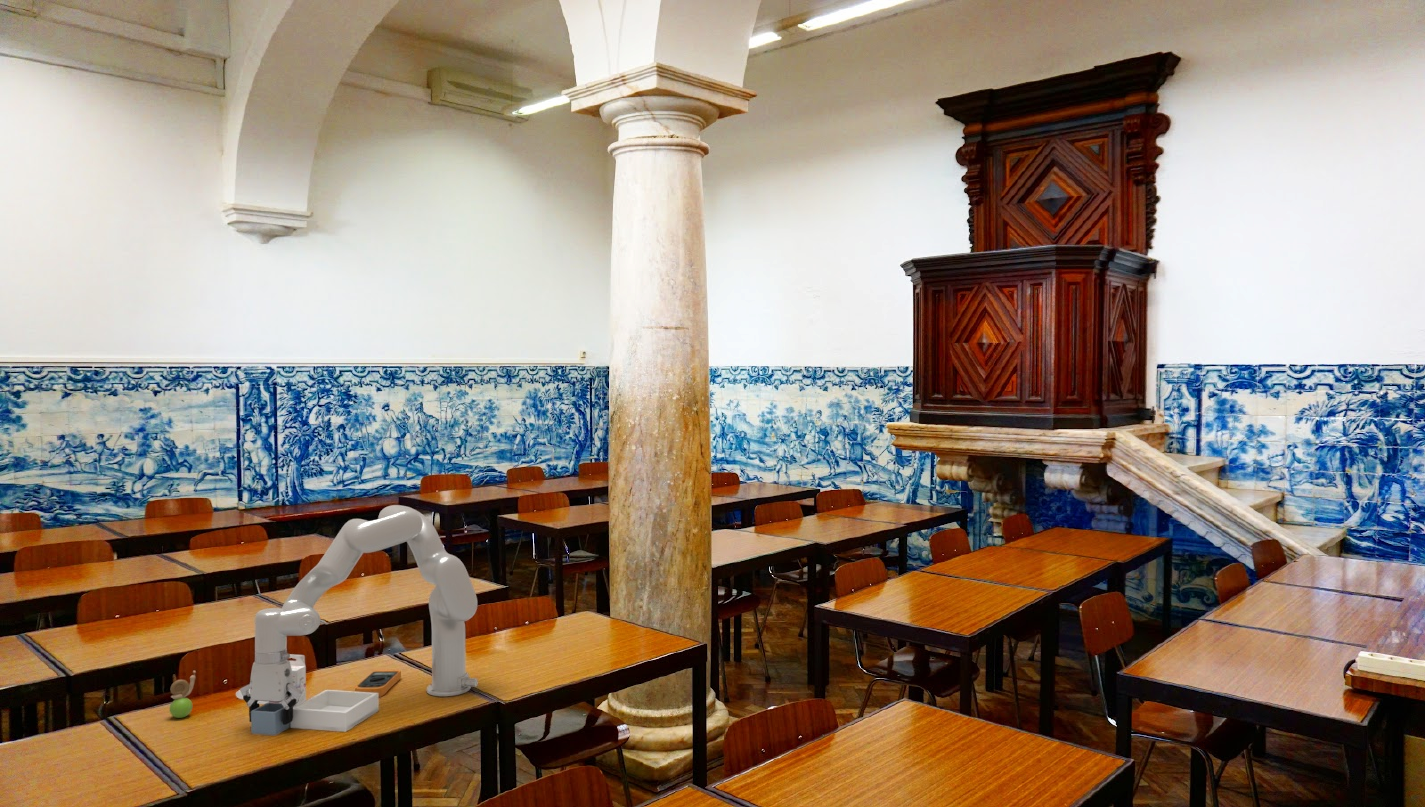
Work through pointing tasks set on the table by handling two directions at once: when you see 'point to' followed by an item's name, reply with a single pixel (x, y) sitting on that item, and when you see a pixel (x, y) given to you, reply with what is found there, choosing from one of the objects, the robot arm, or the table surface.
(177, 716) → the snail figurine
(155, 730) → the table surface
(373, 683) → the multimeter
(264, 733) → the small crate
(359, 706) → the big crate
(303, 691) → the ink cartridge box
